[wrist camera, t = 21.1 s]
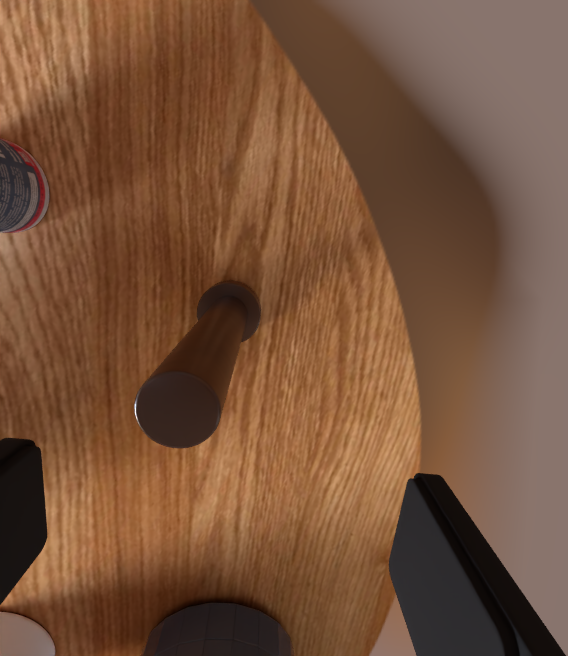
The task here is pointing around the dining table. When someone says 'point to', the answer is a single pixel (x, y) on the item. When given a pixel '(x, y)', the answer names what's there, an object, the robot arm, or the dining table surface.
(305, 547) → the dining table surface
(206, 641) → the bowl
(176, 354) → the rod
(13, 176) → the pill bottle
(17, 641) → the mug
